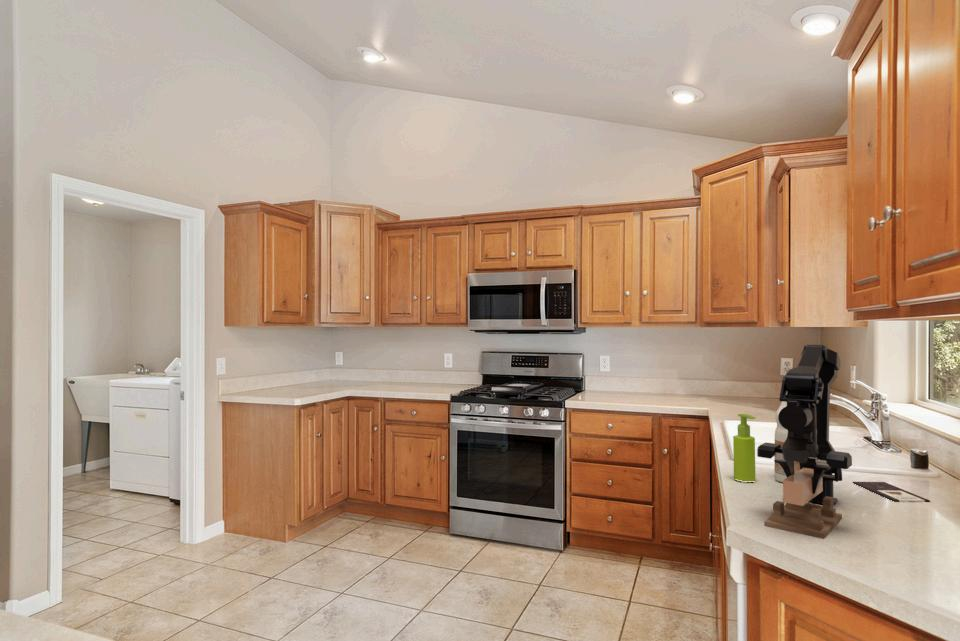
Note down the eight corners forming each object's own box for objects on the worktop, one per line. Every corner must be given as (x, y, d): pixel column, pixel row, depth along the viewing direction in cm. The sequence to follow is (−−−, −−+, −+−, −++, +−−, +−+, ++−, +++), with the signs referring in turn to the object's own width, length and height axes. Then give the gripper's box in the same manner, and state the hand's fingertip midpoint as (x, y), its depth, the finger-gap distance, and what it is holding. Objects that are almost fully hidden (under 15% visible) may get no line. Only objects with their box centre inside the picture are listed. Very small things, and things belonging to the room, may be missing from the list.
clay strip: (804, 487, 137) (804, 467, 138) (822, 491, 135) (822, 470, 135) (783, 502, 126) (782, 480, 126) (802, 506, 123) (802, 483, 124)
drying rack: (786, 507, 141) (786, 487, 141) (842, 518, 133) (841, 497, 133) (764, 525, 128) (764, 503, 128) (824, 538, 120) (823, 515, 120)
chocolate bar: (884, 482, 163) (930, 500, 145) (884, 485, 163) (930, 504, 145) (852, 481, 163) (894, 499, 145) (852, 484, 163) (894, 503, 145)
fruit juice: (770, 481, 165) (771, 387, 165) (778, 475, 172) (779, 385, 172) (806, 487, 158) (807, 389, 159) (813, 481, 166) (813, 387, 166)
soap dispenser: (745, 484, 162) (744, 416, 162) (729, 478, 169) (728, 413, 169) (762, 483, 163) (761, 415, 164) (746, 477, 170) (745, 412, 171)
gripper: (749, 425, 131) (750, 491, 131) (841, 435, 119) (842, 508, 118) (764, 419, 139) (765, 481, 139) (851, 428, 127) (853, 496, 126)
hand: (803, 491), depth 131 cm, fingers closed on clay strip, 4 cm apart
